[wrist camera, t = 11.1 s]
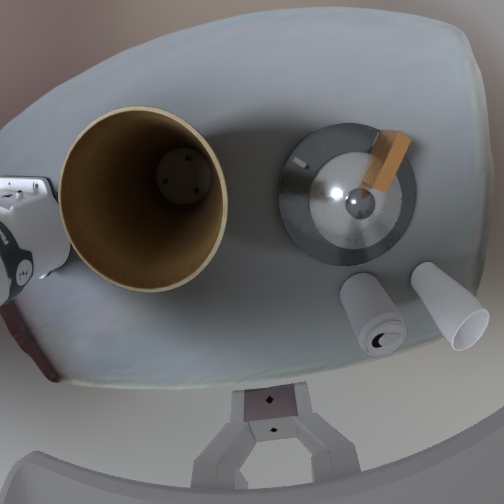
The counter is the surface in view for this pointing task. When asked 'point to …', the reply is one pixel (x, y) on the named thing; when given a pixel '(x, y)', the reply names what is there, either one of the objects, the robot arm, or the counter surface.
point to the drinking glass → (450, 306)
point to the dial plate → (297, 184)
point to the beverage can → (372, 315)
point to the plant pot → (143, 199)
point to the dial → (359, 193)
